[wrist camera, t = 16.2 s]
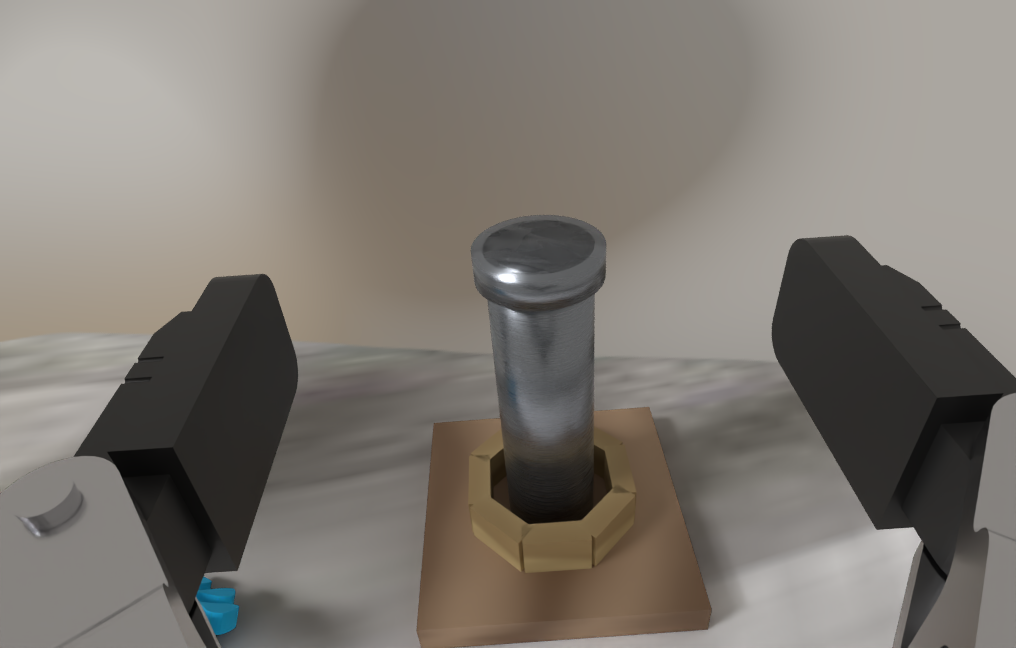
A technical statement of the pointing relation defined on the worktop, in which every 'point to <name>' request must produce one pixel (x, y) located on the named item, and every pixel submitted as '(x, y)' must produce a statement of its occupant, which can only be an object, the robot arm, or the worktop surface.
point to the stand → (555, 545)
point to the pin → (544, 357)
